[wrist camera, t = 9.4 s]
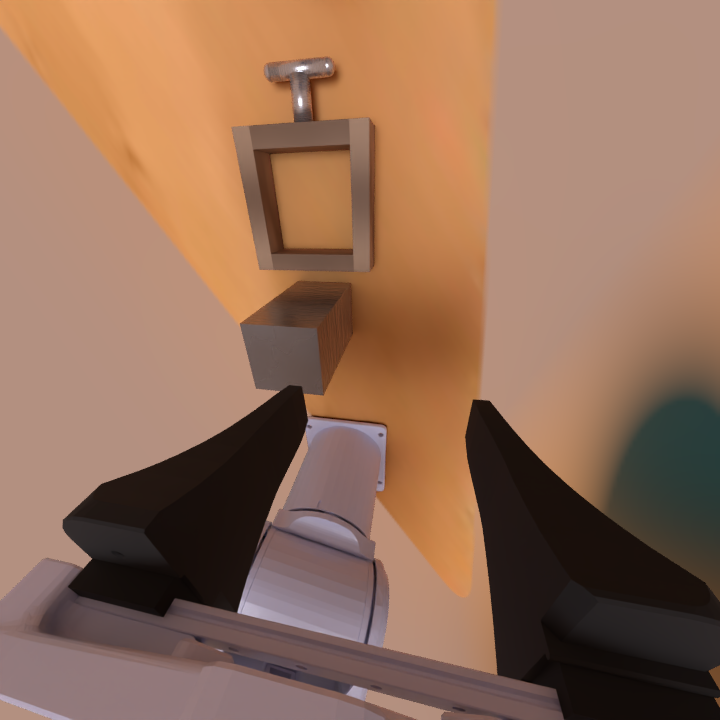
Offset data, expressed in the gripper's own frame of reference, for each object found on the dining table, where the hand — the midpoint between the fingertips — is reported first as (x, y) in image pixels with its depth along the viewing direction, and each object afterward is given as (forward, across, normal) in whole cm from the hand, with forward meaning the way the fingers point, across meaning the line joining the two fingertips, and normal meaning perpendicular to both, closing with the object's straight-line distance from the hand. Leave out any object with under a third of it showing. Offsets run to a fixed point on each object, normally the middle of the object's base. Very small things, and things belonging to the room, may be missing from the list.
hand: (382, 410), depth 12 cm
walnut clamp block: (+11, +5, -9) cm, 15 cm away
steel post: (+10, +6, 0) cm, 12 cm away
